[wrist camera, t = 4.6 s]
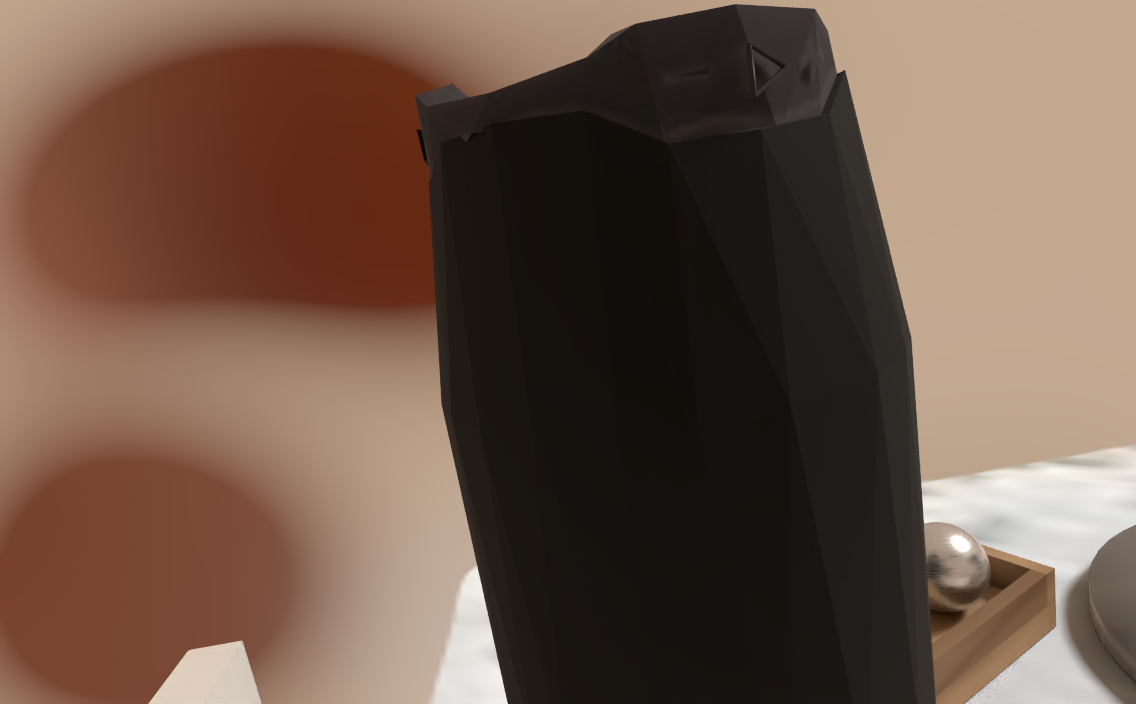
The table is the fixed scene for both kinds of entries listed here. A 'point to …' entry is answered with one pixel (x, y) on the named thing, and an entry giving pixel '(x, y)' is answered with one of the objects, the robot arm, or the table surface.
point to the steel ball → (954, 567)
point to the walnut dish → (992, 627)
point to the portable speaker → (681, 373)
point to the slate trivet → (1116, 598)
